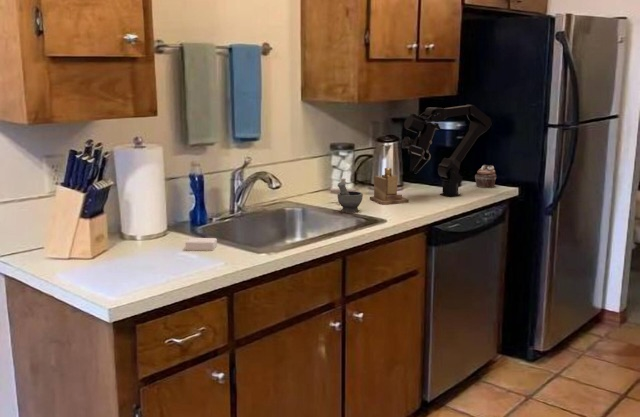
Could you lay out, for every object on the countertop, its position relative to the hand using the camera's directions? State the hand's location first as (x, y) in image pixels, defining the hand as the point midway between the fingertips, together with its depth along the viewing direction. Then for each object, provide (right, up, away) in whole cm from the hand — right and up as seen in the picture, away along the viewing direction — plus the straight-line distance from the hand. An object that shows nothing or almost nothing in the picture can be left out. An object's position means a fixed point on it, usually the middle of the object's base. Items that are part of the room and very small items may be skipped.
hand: (413, 172), depth 278 cm
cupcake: (+37, -5, +30) cm, 48 cm away
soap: (-76, -28, -69) cm, 106 cm away
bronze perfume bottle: (-10, -11, -1) cm, 15 cm away
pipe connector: (-29, -13, -3) cm, 32 cm away
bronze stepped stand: (-10, -12, -1) cm, 16 cm away
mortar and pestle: (-28, -16, -19) cm, 37 cm away
